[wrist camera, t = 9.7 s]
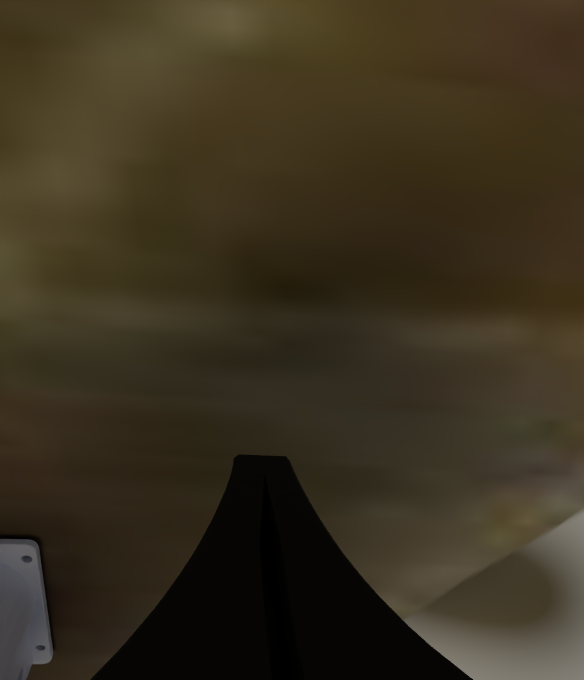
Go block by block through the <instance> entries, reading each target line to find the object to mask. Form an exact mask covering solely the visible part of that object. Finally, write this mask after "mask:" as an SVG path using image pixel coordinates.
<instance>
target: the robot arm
mask: <svg viewBox="0 0 584 680" xmlns="http://www.w3.org/2000/svg"><path fill="white" fill-rule="evenodd" d="M29 556H30V557H29ZM52 656H53V646H52V639H51V632H50V624H49V617H48V610H47V603H46V595H45V588H44V581H43V573H42V566H41V559H40V552H39V546H38V544H37V543H36V542H35V541H33V540H29V539H0V680H26V679H27V676H28V674H29V671H30V668H31V666H32V664H46V663H48V662H50V661H51V659H52ZM91 680H473V679H472V678H470V677H469V676H468V675H466V674H465V673H464V672H463V671H461V670H460V669H459V668H458V667H456V666H455V665H454V664H453V663H451V662H450V661H449V660H448V659H446V658H445V657H444V656H442V655H441V654H440V653H439V652H438V651H436V650H435V649H434V648H433V647H431V646H430V645H429V644H428V643H426V641H425V640H423V639H422V638H421V637H420V636H419V635H418V634H417V633H416V632H415V631H413V630H412V629H411V628H410V627H409V626H408V625H407V624H406V623H405V622H404V621H403V620H402V619H401V618H400V617H399V616H398V615H397V614H396V613H395V612H394V611H393V610H392V609H391V608H390V607H389V606H388V605H387V604H386V603H385V602H384V601H383V600H382V599H381V598H380V597H379V596H378V595H377V594H376V592H375V591H374V590H373V589H372V588H371V587H370V586H369V584H368V583H367V582H366V581H365V580H364V579H363V578H362V576H361V575H360V574H359V573H358V571H357V570H356V569H355V568H354V566H353V565H352V564H351V563H350V562H349V560H348V559H347V558H346V556H345V555H344V554H343V552H342V551H341V550H340V548H339V547H338V545H337V544H336V543H335V541H334V540H333V538H332V537H331V535H330V534H329V532H328V531H327V529H326V528H325V526H324V525H323V523H322V522H321V520H320V518H319V517H318V515H317V513H316V512H315V510H314V508H313V507H312V505H311V503H310V502H309V500H308V498H307V496H306V494H305V492H304V491H303V489H302V487H301V485H300V483H299V481H298V479H297V477H296V475H295V472H294V470H293V468H292V466H291V463H290V460H289V459H288V458H287V457H285V456H259V455H238V456H236V457H235V458H234V462H233V468H232V472H231V476H230V479H229V482H228V485H227V487H226V490H225V493H224V495H223V497H222V499H221V502H220V504H219V506H218V509H217V511H216V513H215V515H214V517H213V519H212V521H211V523H210V525H209V526H208V528H207V530H206V532H205V534H204V536H203V538H202V540H201V541H200V543H199V545H198V546H197V548H196V550H195V551H194V553H193V555H192V556H191V558H190V559H189V561H188V563H187V564H186V566H185V567H184V569H183V570H182V572H181V573H180V575H179V576H178V577H177V579H176V580H175V582H174V583H173V584H172V586H171V587H170V589H169V590H168V591H167V593H166V594H165V596H164V597H163V598H162V600H161V601H160V602H159V603H158V605H157V606H156V607H155V609H154V610H153V611H152V612H151V613H150V615H149V616H148V617H147V618H146V619H145V621H144V622H143V623H142V624H141V625H140V626H139V628H138V629H137V630H136V631H135V632H134V634H133V635H132V636H131V637H130V638H129V640H128V641H127V642H126V643H125V644H124V645H123V646H122V647H121V648H120V650H119V651H118V652H117V653H116V654H115V655H114V656H113V657H112V658H111V659H110V660H109V661H108V662H107V663H106V664H105V665H104V666H103V667H102V668H101V669H100V670H99V671H98V672H97V673H96V674H95V675H94V676H93V677H92V679H91Z"/></svg>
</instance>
